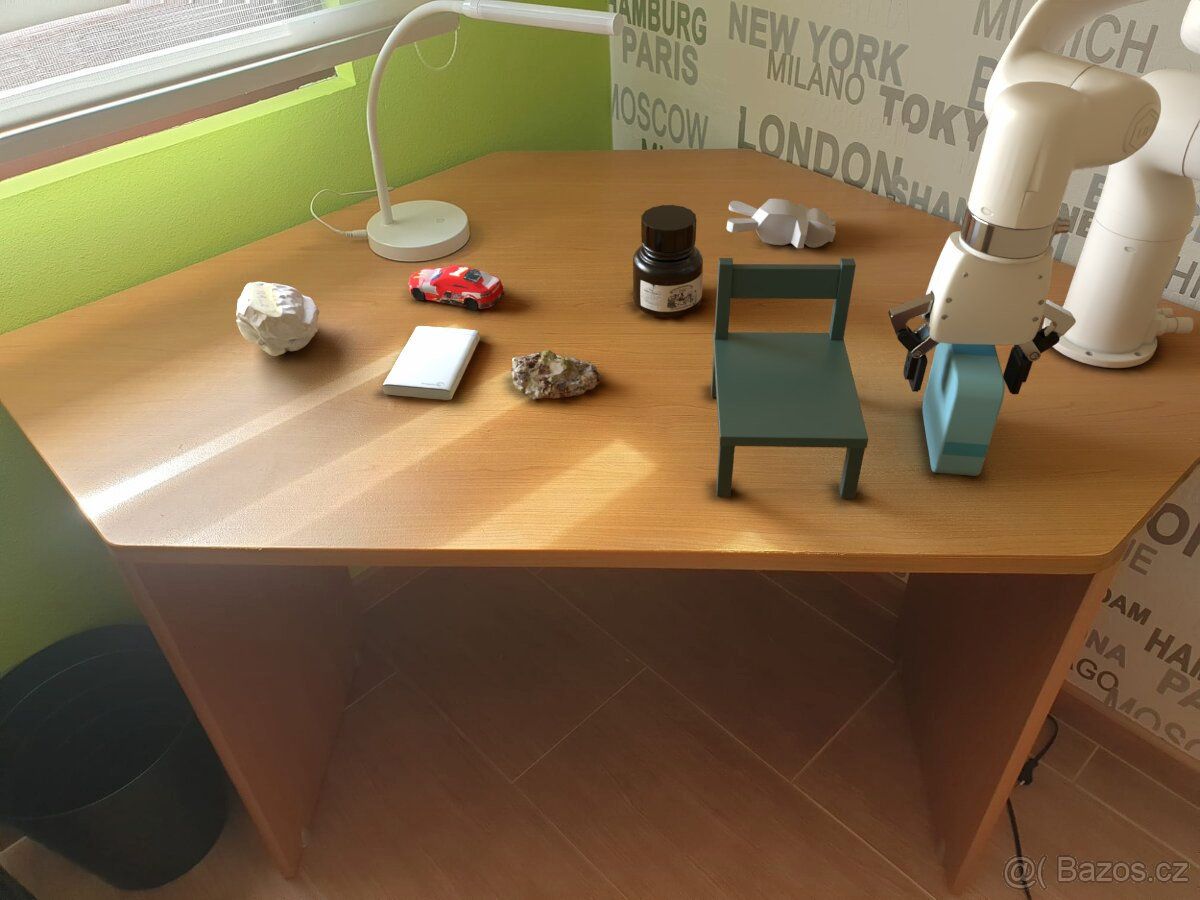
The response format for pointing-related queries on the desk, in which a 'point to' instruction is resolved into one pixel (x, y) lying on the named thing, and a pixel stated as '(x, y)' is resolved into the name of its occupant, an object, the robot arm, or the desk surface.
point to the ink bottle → (667, 263)
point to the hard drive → (432, 363)
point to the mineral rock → (552, 375)
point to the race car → (457, 286)
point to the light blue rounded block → (962, 406)
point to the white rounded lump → (276, 317)
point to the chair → (786, 370)
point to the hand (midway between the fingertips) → (961, 385)
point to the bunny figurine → (784, 223)
